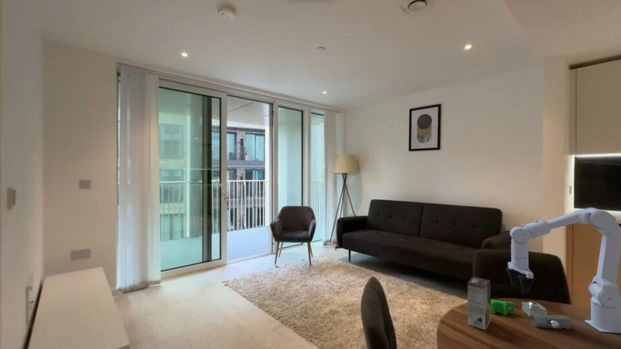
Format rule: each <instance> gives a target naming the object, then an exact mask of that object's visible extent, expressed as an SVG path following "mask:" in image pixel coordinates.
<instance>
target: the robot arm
mask: <svg viewBox="0 0 621 349" xmlns="http://www.w3.org/2000/svg"><path fill="white" fill-rule="evenodd" d="M572 224H582V225H586V226H587V225H590V226H592V227H594V228H595V229H596V230H597V231H598V232H600V234H602V237H601V242H600V243H601V244H600V248H599V249H600V251H599V257H598V262H597V269H596V275H594V276H593V278H592V282H591V283H590V284H589V285H588V292H589V293H590V295H591V298H590V319H585V320H584V322H585V323H587V324H588V325H590V326H591V327H593V328H594V329H596V330H597V331H599V332H602V333H613V334H615V333H616V334H621V294H620V287H619V284H618V282H617V277H618V272H619V266H620V259H621V226H620V224H619V223H618V221H617V218H616V216H614V215H613V214H611V213H609V212H608V211H607V210H602V209H598V208H596V207H586V208H584V209H583V208H582V209H578V210H576V211H573V212H569V213H565V215H561V216H558V217H556V218H553V219H550V220H548V221H545V220H543V219H540V220H538V219H534V220H533V222H530V223H527V224H520V226H514V227H513V228H512V229H510V232H509V236H510V237H511V240H510V241H511V244H510V252H511V253H510V255H511V256H510V257H511V259H510V260H511V261H508V262H507V267H506V268H505V270H506V273H507V274H508V276H509V279H510V280H509V281H510V283H511V286H512V287H519V283H520V288H521V292H522V294H523V295H524V294H525V295H529V294H530V292H531V288H532V285H533V284H534V283H535V281H536V277H534V273H533V271H531V269H530V268H529V245H528V243H529V241H530V239H531V240H532V239H536V238H539V237H541V236H545V235H548V234H550V233H551V231H552V230H553V229H557V228H558V229H559V228H561V227H566V226H568V225H569V226H570V225H572ZM521 274H522V275H521Z"/></svg>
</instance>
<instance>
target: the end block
mask: <svg viewBox="0 0 621 349" xmlns="http://www.w3.org/2000/svg"><path fill="white" fill-rule="evenodd" d="M529 317H530V324H531V326H533V327H534V328H546V329H547V328H550V329H555V330H557V329H562V328H565V330H571V325H572V324H571V319H570V318H569V317H567V316H566V315H557V314H556V315H554V314H552V315H551V314H547V315H538V314H530V316H529Z"/></svg>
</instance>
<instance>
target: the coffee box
mask: <svg viewBox="0 0 621 349" xmlns="http://www.w3.org/2000/svg"><path fill="white" fill-rule="evenodd" d="M466 284H467V286H466V287H467V288H466V289H467V291H466V292H467V325H469V326H472V327H475V328H477V329H478V328H479V329H482V330H484V331H486V330H487V328H488V327H489V325H490V323H491V321H492V312H491V300H492V299H491V297H492V296H491V280H490V279H484V278H481V277H478V276H477V277H475V276H472V277H471V279H470V280H469V281H468V282H467V283H466Z"/></svg>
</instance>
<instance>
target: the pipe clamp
mask: <svg viewBox="0 0 621 349" xmlns="http://www.w3.org/2000/svg"><path fill="white" fill-rule="evenodd" d="M495 312H499V313H500V314H502V315H504V316H505V315H507V316H508V314H509V313H511V314H510V315H514V314H515V303H514V302H512V301H505V300H504V301H503V300H497V299H491V314H492V313H493V315H494V314H495ZM499 313H498V314H499Z"/></svg>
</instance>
